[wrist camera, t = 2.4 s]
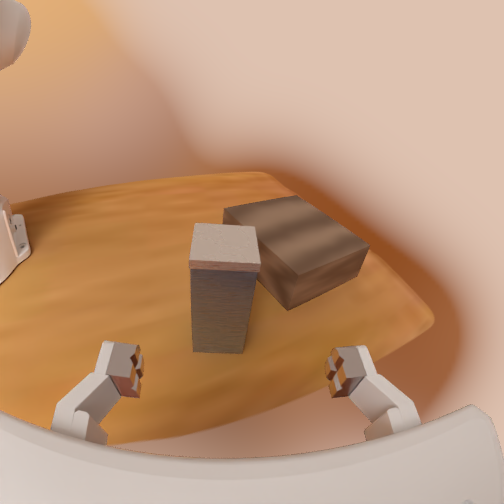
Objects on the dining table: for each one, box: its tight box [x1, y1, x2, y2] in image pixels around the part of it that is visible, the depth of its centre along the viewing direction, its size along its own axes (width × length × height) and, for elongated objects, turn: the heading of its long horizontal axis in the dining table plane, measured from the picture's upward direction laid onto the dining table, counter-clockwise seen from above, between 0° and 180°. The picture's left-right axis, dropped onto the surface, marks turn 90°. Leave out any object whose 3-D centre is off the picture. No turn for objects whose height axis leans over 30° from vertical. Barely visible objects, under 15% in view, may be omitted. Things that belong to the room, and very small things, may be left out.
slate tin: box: [189, 223, 261, 354], centre depth 26 cm, size 5×5×12 cm
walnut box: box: [223, 195, 370, 311], centre depth 41 cm, size 16×14×6 cm
